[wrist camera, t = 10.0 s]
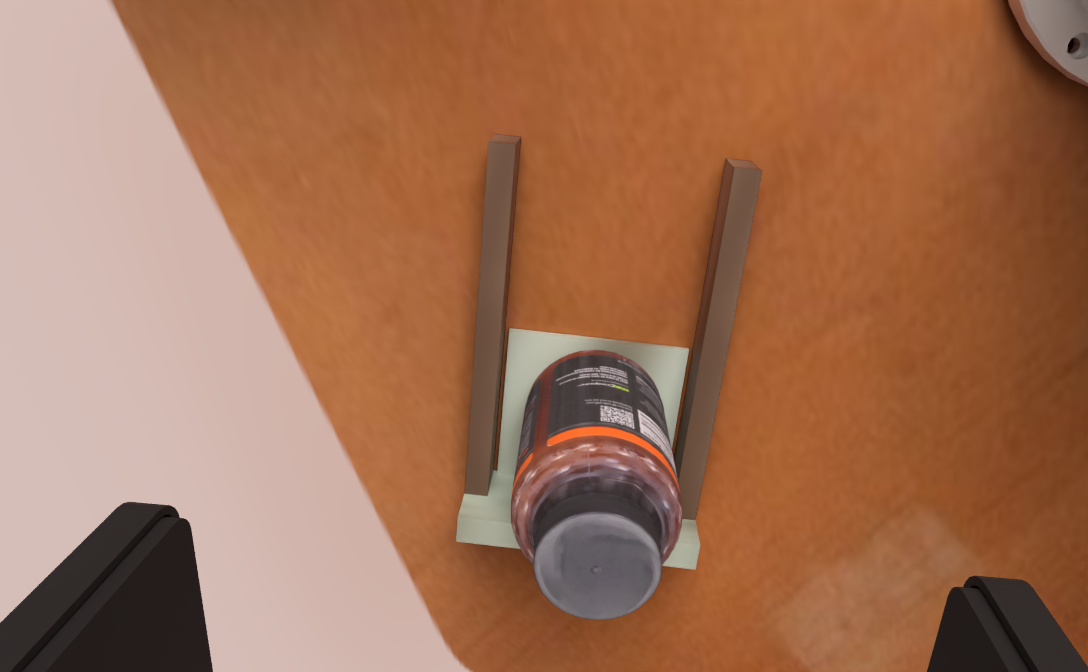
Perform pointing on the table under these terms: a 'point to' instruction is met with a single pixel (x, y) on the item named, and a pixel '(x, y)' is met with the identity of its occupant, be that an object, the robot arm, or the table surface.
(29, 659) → the robot arm
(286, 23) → the table surface
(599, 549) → the supplement bottle
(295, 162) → the table surface
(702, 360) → the guide rail
